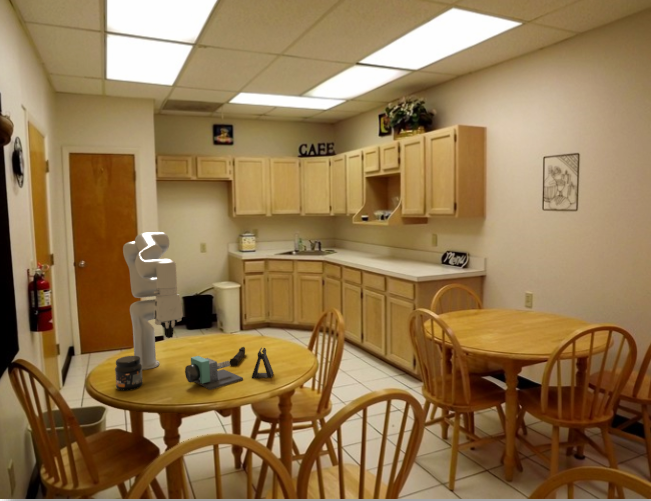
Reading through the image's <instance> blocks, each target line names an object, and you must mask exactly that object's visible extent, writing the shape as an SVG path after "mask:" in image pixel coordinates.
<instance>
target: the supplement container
mask: <svg viewBox="0 0 651 501" xmlns="http://www.w3.org/2000/svg"><path fill="white" fill-rule="evenodd" d="M140 362H141V360H140V357H139V356H134V355H125V356H122V357H119V358H117V359H116V360H115V369H114V371H115V372H114V373H115V388H116V389H117V390H118V391H123V392H124V391H126V392H127V391H133V390H136V389H139V388H140V387H141V386H143V383H144V382H143V370H142V364H141V363H140Z"/></svg>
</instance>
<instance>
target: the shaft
mask: <svg viewBox="0 0 651 501" xmlns="http://www.w3.org/2000/svg"><path fill="white" fill-rule="evenodd" d="M230 366H231V365H230V360H225V361H222V362H217V370H221V369H224V368H227V367H230ZM184 369H185V370H184V374H185V375H184V376H185V378H186V380H187V381H188V383H190V384H191V383H195V382H194V381H198V380H199V378H200V371H199V368H198V366H197V365H196V364H192V365H191V364H188V365H186V366H185V368H184Z"/></svg>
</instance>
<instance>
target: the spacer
mask: <svg viewBox="0 0 651 501" xmlns="http://www.w3.org/2000/svg"><path fill="white" fill-rule="evenodd" d="M192 364H196V365H197V366H198V368H199V371H200V383H202V384H203V383H206V382H210V369H209V360H207V359H205V358H204V357H203V356H200V355H196V356H191V357H190V365H192Z"/></svg>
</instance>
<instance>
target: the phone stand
mask: <svg viewBox="0 0 651 501" xmlns="http://www.w3.org/2000/svg"><path fill="white" fill-rule="evenodd" d="M261 360H262V363H263V365H264V368H265V372H259V369H260V364H261ZM273 375H274V371H273V368H272V365H271V362H270V360H269V358H268V355H267V348H265V347H263V348H262V347H261V348H260V349H259V351H258V352H257V360H256V363H255V366H254V368H253V370H252V375H251V379H272V378H273Z"/></svg>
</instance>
